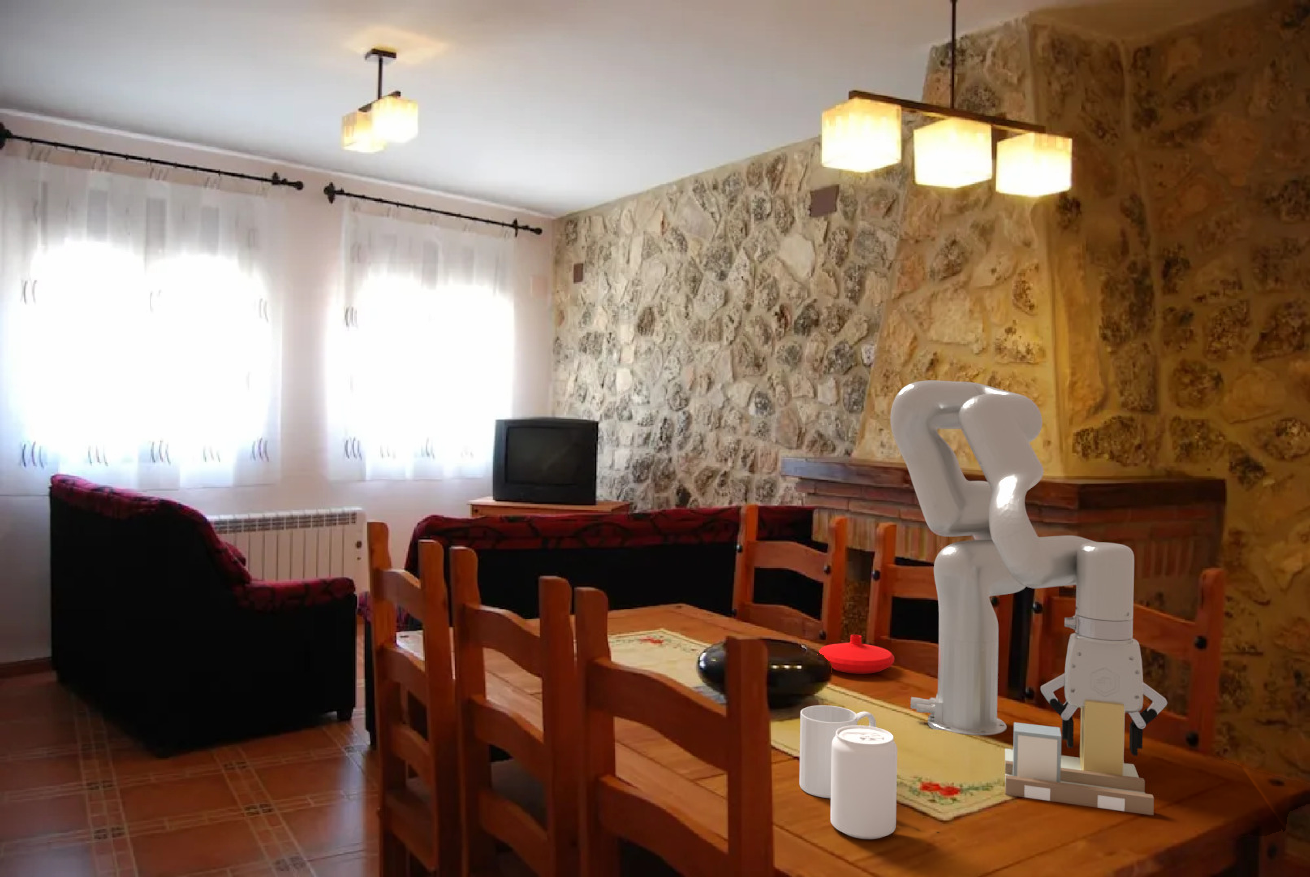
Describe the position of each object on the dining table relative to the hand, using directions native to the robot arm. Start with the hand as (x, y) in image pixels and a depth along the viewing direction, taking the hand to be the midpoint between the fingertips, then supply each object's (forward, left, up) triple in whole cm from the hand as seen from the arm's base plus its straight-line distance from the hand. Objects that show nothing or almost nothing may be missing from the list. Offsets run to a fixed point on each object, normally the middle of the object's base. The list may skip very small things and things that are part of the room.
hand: (1101, 748), depth 137 cm
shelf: (-4, -4, -5) cm, 7 cm away
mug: (-35, -17, -5) cm, 39 cm away
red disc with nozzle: (-42, +47, -5) cm, 63 cm away
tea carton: (0, 0, -4) cm, 4 cm away
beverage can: (-30, -30, -5) cm, 42 cm away
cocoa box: (-9, -9, -4) cm, 13 cm away
